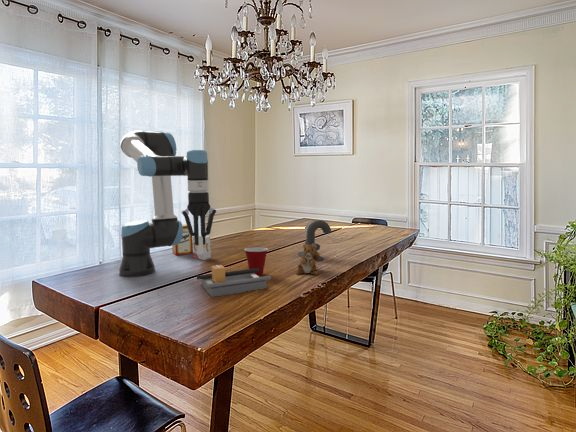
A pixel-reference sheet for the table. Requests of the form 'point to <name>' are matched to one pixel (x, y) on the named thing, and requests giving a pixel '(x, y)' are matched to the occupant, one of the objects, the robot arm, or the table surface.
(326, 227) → the faucet
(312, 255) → the stuffed squirrel
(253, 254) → the plastic cup
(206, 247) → the ink box
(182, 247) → the orange cardboard box
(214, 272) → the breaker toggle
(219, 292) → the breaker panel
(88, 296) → the table surface
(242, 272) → the grey tray
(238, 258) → the table surface
